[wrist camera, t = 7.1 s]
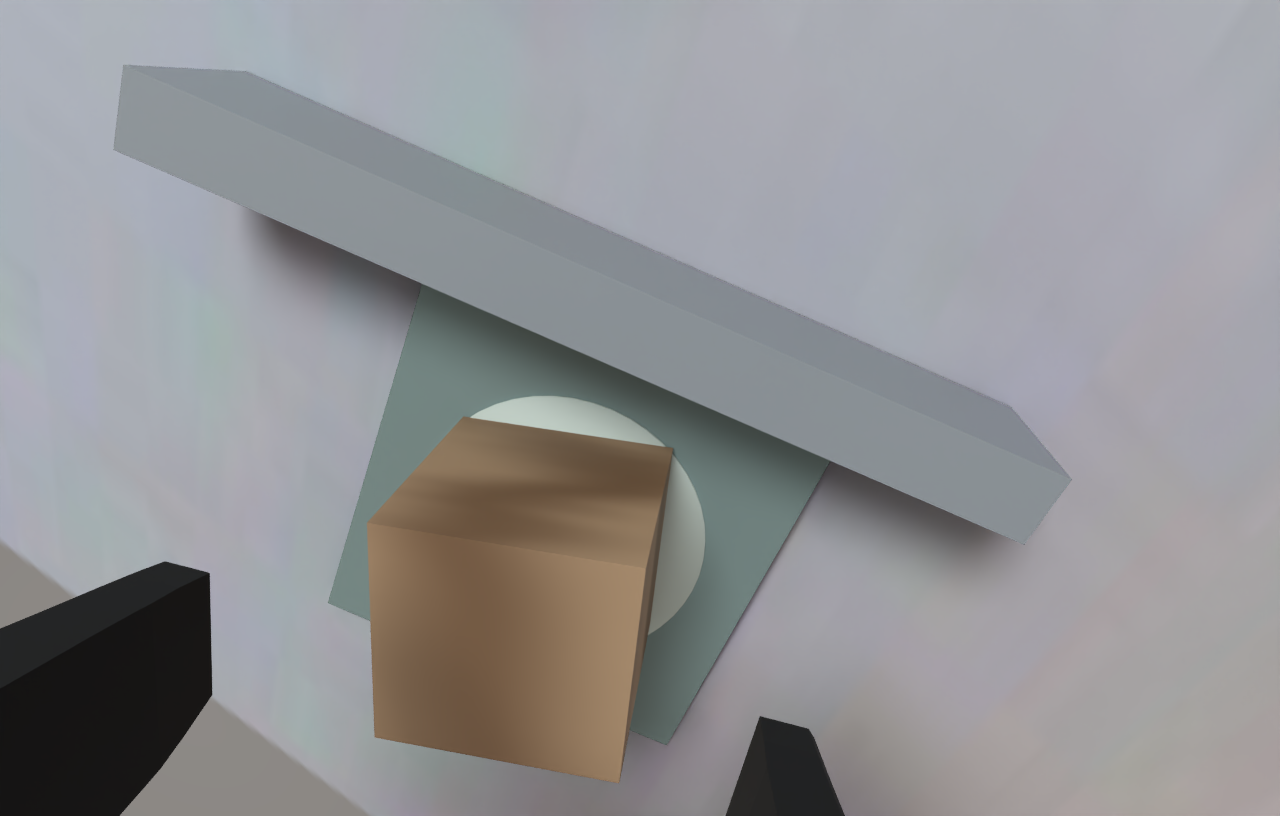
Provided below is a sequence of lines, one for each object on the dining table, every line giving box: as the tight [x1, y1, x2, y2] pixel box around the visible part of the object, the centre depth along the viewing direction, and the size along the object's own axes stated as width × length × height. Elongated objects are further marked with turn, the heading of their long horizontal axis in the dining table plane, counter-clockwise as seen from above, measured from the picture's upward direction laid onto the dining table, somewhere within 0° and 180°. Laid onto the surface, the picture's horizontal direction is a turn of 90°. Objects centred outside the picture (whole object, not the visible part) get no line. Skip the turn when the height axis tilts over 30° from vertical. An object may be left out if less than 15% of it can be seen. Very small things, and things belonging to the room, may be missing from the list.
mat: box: [328, 284, 830, 745], centre depth 19 cm, size 10×10×1 cm
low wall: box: [113, 65, 1072, 545], centre depth 15 cm, size 18×2×4 cm, turn 69°
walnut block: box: [367, 416, 673, 783], centre depth 17 cm, size 5×5×5 cm
